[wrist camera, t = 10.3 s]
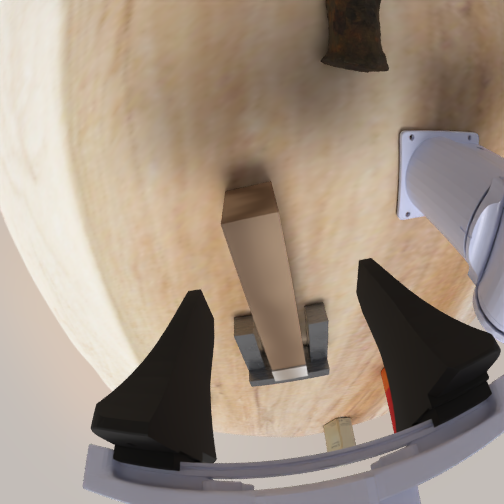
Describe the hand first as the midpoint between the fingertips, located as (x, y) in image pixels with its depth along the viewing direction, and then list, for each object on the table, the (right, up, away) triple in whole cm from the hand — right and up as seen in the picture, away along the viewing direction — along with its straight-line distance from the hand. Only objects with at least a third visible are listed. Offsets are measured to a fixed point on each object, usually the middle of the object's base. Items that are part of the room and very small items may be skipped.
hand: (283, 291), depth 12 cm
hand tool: (+4, +22, -2) cm, 23 cm away
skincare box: (+19, -39, +42) cm, 61 cm away
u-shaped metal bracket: (+2, -8, +19) cm, 20 cm away
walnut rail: (+1, -1, +14) cm, 14 cm away
